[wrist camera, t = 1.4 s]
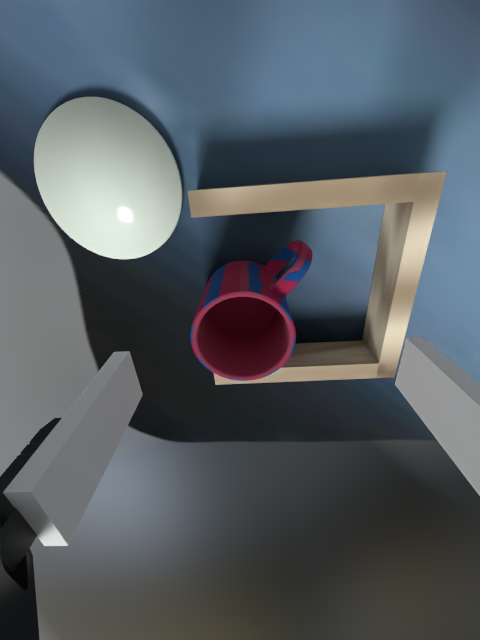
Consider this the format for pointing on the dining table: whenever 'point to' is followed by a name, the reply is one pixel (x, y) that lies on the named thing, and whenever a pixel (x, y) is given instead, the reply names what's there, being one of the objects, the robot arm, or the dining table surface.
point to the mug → (249, 316)
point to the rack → (389, 272)
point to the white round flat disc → (108, 177)
